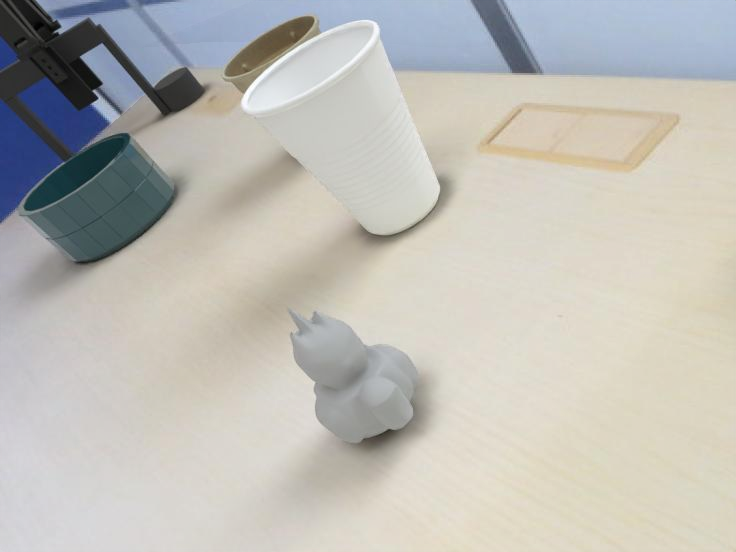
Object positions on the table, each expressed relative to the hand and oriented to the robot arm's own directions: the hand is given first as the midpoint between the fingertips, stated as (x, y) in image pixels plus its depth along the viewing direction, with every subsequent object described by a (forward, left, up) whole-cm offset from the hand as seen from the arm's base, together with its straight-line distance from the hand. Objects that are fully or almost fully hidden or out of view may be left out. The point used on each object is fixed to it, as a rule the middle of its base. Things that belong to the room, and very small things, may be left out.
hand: (90, 96), depth 91 cm
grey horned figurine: (+66, -52, -6) cm, 84 cm away
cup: (+58, -32, -6) cm, 66 cm away
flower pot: (+43, -17, -6) cm, 47 cm away
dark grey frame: (+1, +1, -6) cm, 6 cm away
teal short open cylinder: (+19, -23, -6) cm, 30 cm away
